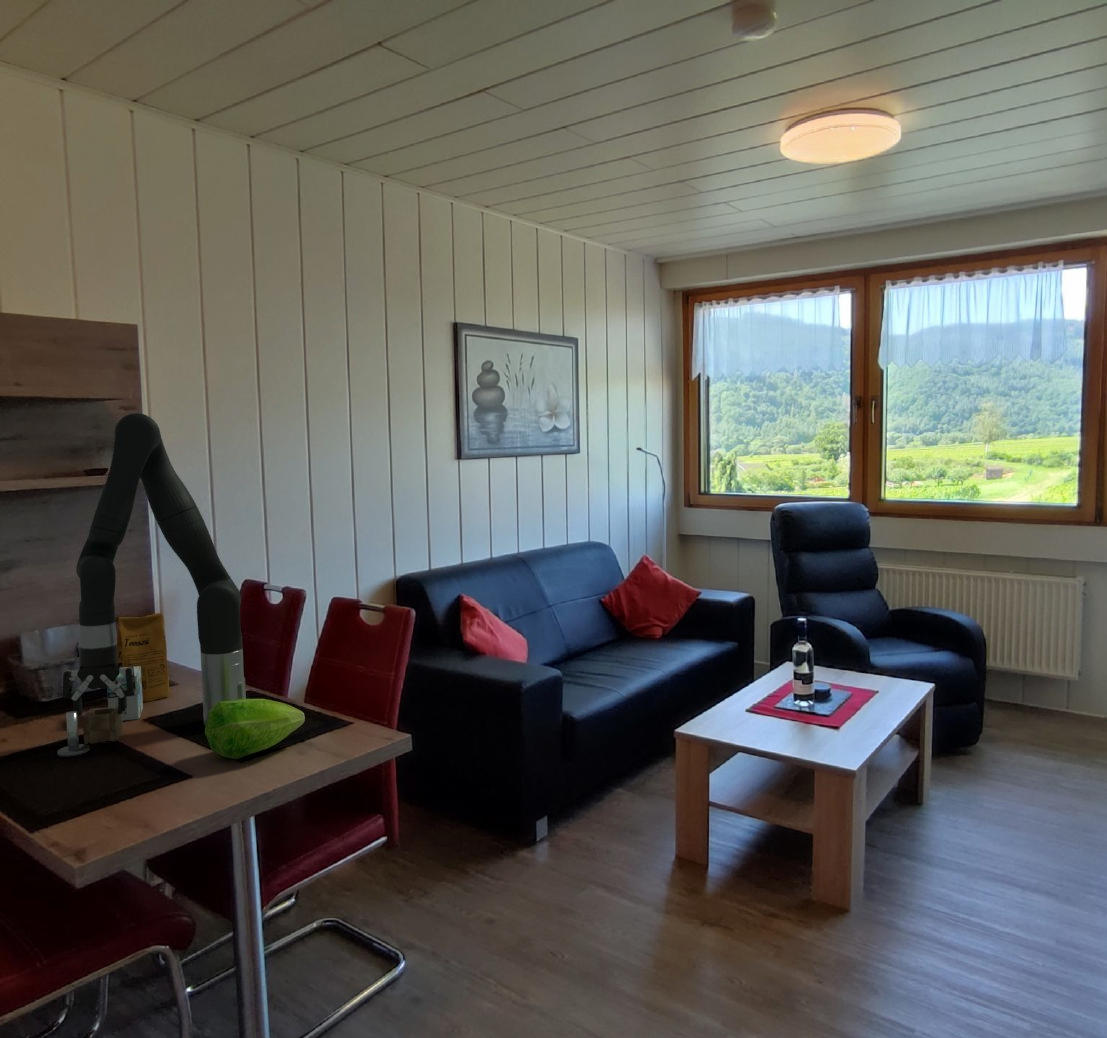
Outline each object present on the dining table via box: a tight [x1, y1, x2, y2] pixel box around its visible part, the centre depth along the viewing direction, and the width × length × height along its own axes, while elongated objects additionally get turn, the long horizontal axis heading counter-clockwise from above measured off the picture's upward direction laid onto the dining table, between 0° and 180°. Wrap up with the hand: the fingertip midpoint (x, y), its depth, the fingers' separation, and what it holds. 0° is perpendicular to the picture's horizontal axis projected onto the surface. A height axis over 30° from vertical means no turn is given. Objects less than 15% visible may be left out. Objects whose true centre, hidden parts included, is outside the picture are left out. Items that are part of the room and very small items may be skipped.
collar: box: [82, 706, 124, 745], centre depth 187 cm, size 6×6×6 cm
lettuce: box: [204, 698, 306, 760], centre depth 176 cm, size 14×20×12 cm
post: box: [57, 710, 91, 758], centre depth 178 cm, size 6×6×9 cm
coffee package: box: [117, 612, 170, 703], centre depth 216 cm, size 10×12×22 cm
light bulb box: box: [106, 666, 144, 721], centre depth 203 cm, size 11×7×11 cm, turn 22°
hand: (100, 714), depth 187 cm, fingers open, 8 cm apart
